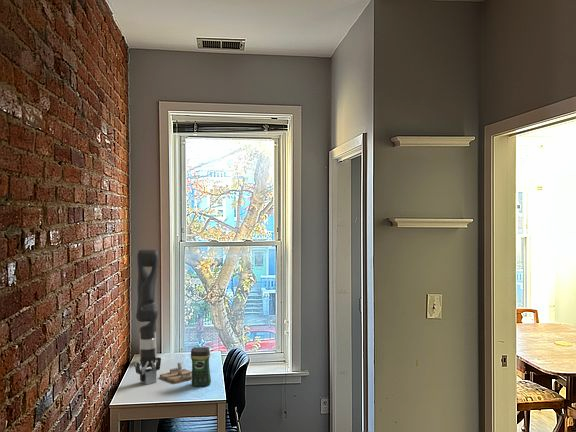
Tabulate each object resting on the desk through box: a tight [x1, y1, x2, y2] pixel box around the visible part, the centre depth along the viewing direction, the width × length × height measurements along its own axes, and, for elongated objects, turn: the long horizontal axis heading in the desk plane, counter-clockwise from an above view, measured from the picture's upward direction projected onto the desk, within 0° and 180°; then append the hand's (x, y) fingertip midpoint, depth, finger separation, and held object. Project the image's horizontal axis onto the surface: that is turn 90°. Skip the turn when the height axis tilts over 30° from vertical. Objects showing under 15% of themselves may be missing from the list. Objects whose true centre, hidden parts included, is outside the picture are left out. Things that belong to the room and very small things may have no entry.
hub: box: [139, 367, 157, 386], centre depth 287 cm, size 6×6×6 cm
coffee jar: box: [190, 346, 212, 387], centre depth 282 cm, size 10×8×19 cm
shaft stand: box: [159, 362, 192, 385], centre depth 295 cm, size 15×15×8 cm
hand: (148, 380), depth 287 cm, fingers closed on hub, 5 cm apart
